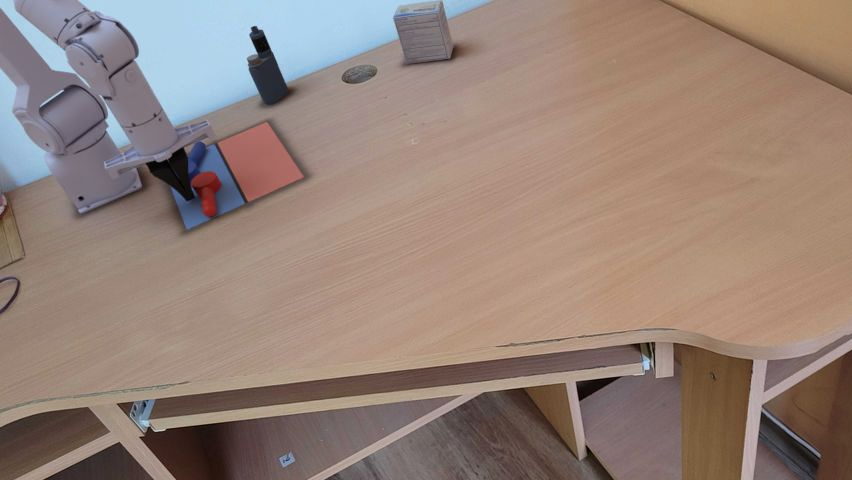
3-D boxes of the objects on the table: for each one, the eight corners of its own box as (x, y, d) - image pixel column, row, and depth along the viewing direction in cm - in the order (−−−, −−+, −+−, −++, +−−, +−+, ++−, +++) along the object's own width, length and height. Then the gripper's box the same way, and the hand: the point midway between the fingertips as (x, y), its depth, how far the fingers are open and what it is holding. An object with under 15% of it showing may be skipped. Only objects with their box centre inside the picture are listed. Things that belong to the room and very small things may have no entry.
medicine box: (454, 47, 124) (442, -2, 118) (450, 60, 121) (438, 10, 115) (410, 52, 125) (397, 4, 119) (406, 65, 122) (392, 16, 116)
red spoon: (226, 214, 99) (220, 204, 98) (199, 223, 99) (193, 214, 97) (220, 177, 106) (215, 167, 105) (195, 186, 106) (189, 176, 105)
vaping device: (292, 90, 123) (264, 24, 114) (271, 106, 120) (241, 40, 112) (282, 88, 124) (253, 23, 116) (261, 104, 121) (230, 38, 113)
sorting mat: (187, 230, 98) (186, 229, 98) (163, 167, 112) (162, 165, 112) (304, 177, 103) (303, 176, 103) (267, 122, 116) (266, 121, 116)
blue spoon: (192, 150, 114) (187, 141, 112) (215, 146, 113) (210, 137, 112) (173, 188, 106) (167, 179, 105) (197, 184, 106) (191, 175, 105)
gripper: (88, 150, 89) (144, 232, 98) (199, 105, 92) (244, 188, 102) (83, 127, 93) (137, 207, 103) (189, 85, 97) (232, 166, 106)
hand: (189, 196), depth 103 cm, fingers closed
